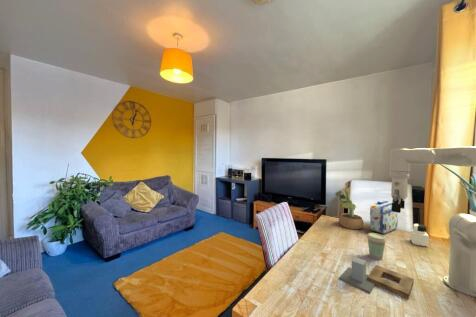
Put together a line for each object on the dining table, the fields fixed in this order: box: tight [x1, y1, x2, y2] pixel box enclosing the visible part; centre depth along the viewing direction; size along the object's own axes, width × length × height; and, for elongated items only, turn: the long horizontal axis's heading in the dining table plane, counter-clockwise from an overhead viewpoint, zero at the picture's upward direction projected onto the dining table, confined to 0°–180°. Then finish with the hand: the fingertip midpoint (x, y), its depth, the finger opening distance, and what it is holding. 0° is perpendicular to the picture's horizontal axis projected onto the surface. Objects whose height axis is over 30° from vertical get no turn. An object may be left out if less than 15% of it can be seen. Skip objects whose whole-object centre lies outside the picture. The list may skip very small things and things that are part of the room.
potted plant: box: [334, 188, 365, 230], centre depth 150 cm, size 22×18×30 cm
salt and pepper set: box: [410, 223, 430, 248], centre depth 123 cm, size 7×7×12 cm
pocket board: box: [367, 264, 415, 300], centre depth 86 cm, size 14×14×2 cm
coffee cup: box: [366, 232, 387, 261], centre depth 107 cm, size 8×9×12 cm
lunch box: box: [369, 200, 399, 235], centre depth 143 cm, size 28×10×22 cm, turn 122°
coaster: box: [338, 266, 376, 294], centre depth 88 cm, size 12×12×1 cm
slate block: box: [351, 256, 367, 283], centre depth 88 cm, size 4×4×8 cm
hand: (398, 209), depth 93 cm, fingers open, 9 cm apart
